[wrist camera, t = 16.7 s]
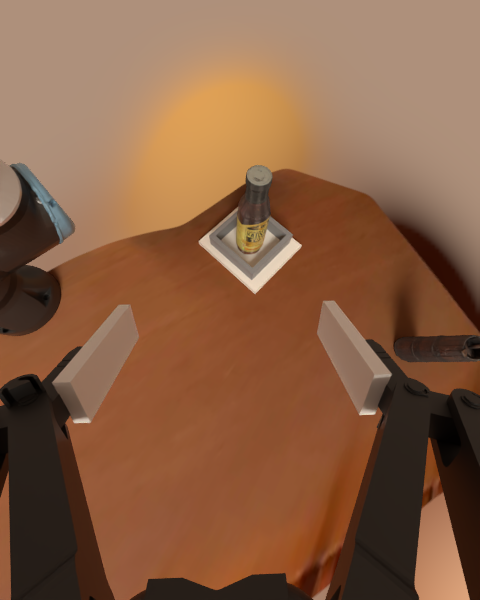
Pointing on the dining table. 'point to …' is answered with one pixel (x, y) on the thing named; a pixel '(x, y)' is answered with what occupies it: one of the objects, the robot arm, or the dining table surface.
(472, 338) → the butter churn
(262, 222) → the sauce bottle
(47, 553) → the robot arm
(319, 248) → the dining table surface
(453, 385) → the dining table surface
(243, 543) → the dining table surface
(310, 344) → the dining table surface
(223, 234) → the bottle stand
